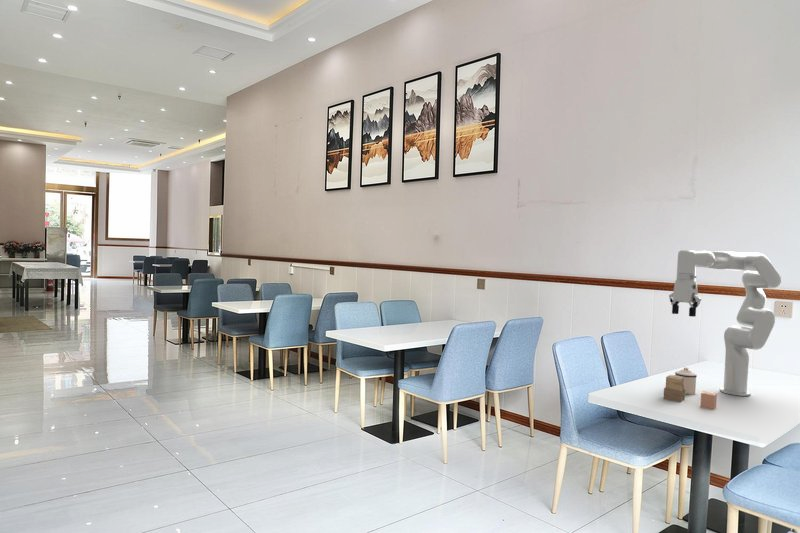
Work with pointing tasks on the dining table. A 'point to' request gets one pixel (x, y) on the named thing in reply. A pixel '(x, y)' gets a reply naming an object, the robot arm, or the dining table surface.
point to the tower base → (674, 394)
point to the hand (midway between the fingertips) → (683, 315)
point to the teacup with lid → (688, 380)
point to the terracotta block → (708, 400)
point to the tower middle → (675, 382)
